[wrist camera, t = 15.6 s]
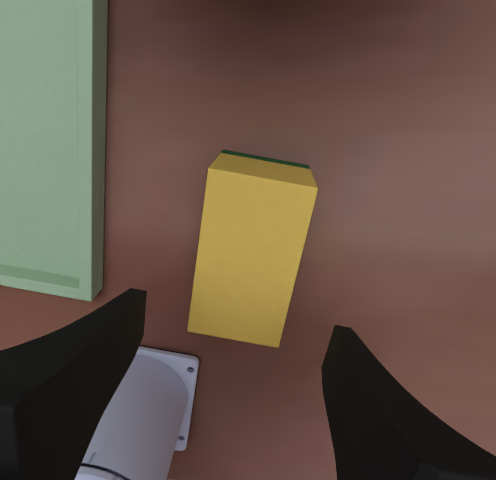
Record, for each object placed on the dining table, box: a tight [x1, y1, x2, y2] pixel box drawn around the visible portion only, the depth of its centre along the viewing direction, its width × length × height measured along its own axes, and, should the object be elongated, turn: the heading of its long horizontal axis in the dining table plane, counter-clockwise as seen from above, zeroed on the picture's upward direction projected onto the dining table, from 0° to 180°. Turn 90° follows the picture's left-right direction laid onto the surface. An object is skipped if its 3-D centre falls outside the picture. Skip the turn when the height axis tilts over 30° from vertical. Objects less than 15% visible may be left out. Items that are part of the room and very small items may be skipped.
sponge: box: [187, 150, 318, 348], centre depth 21 cm, size 9×5×5 cm, turn 170°
